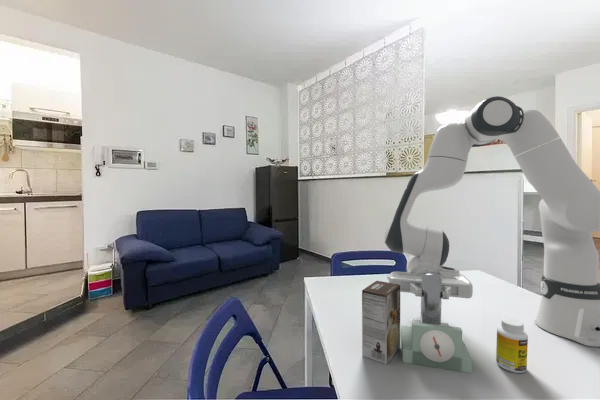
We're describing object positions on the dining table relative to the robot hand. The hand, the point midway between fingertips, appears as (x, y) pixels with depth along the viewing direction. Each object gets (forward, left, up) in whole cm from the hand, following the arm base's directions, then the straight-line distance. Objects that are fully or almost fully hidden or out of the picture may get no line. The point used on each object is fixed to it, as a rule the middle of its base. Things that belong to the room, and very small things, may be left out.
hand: (432, 294), depth 71 cm
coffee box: (+12, +4, -14) cm, 19 cm away
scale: (0, +1, -14) cm, 14 cm away
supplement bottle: (-16, +2, -14) cm, 22 cm away
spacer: (0, -1, -7) cm, 7 cm away
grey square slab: (0, -1, -11) cm, 11 cm away
